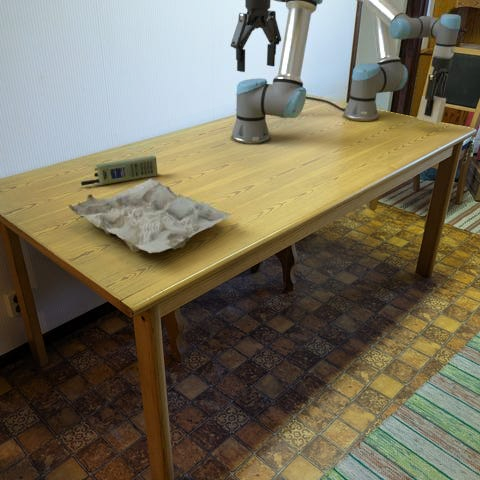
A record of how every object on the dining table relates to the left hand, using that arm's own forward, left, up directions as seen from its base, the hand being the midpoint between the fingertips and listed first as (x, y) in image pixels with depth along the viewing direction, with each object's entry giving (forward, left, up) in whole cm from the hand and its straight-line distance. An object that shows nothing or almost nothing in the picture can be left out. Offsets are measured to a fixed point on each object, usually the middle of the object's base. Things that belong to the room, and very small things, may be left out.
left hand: (256, 68), depth 161 cm
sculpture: (+37, -37, -34) cm, 63 cm away
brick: (-30, +84, -29) cm, 94 cm away
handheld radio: (+3, -46, -34) cm, 57 cm away
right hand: (-30, +84, -26) cm, 93 cm away
